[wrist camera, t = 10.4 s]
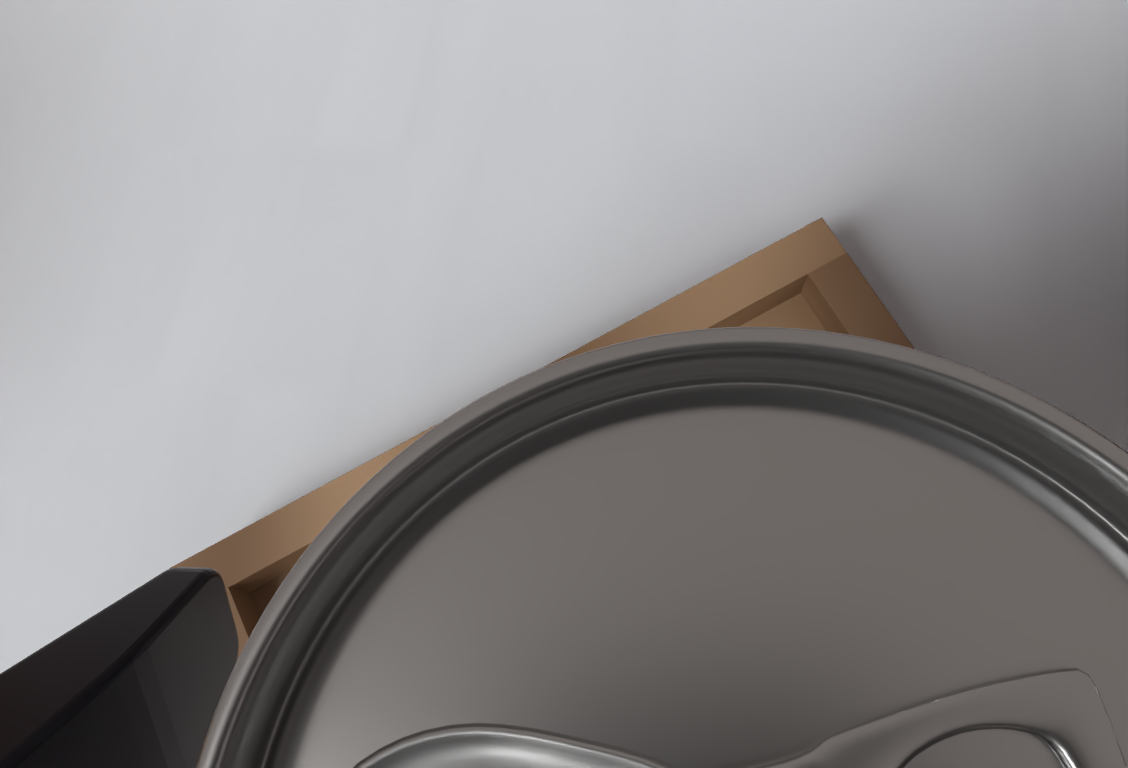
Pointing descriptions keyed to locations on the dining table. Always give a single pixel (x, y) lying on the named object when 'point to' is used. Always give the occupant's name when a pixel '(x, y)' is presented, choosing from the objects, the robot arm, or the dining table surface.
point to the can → (710, 576)
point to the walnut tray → (728, 299)
